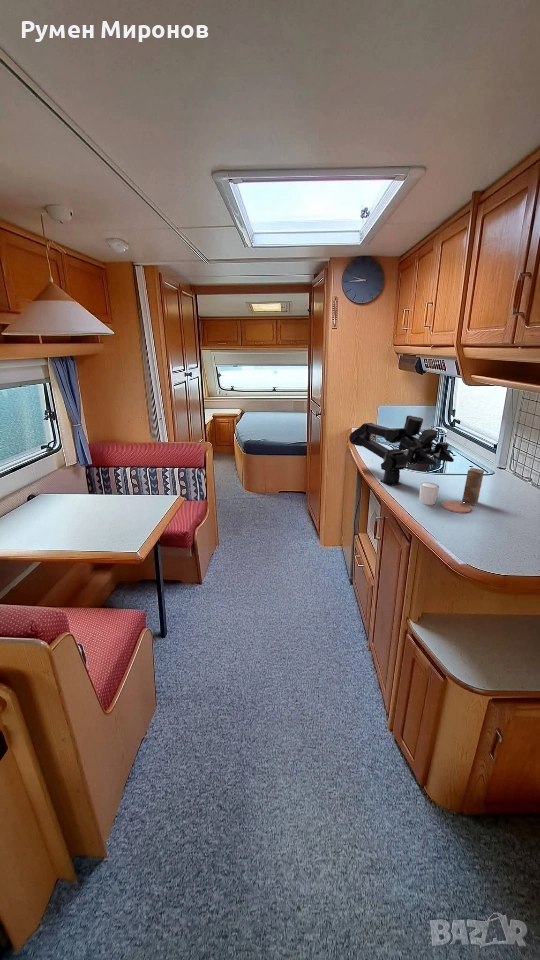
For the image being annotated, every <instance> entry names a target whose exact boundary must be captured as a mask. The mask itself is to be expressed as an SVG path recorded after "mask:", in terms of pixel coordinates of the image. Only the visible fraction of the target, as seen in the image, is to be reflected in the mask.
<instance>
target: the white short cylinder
mask: <svg viewBox="0 0 540 960" xmlns="http://www.w3.org/2000/svg"><path fill="white" fill-rule="evenodd" d="M439 491H440V485H438V484H436V483H434V482H428V481H427V482H425V481H424V482H421V483H419V496H418V497H419V499H418V502H419V503H420V504H422V505H425V504H426V506H433V504H434V505H435V504H436V500H437V497H438V495H439V494H438V493H439Z"/></svg>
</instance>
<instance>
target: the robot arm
mask: <svg viewBox="0 0 540 960" xmlns="http://www.w3.org/2000/svg"><path fill="white" fill-rule="evenodd" d="M423 422H424V419H423V418H422V417H420V416H419V417H418V416H414V415H406V418H405V423H404V427H403V428H402V427H399V428H398V427H397V428H395V427H393V428H392V427H391V428H390V427H387V426H382V425H378V424H375V423H373V422H367V423H366V422H365V423H363V424H362V425H361V426H359V427H357V428H356V429H355V430H353V432H351V433H350V434H349V437H348V440H349V442H350V444H351V445H354V446H357V447H358V446H359V447H363V448H365V449H366V450H368V451H369V452H371V453H372V454H375V456H378V457H379V458H381V459H382V460H383V462H382V463H381V464H380V467H381V470H383V471H384V475H383V479H380V482H382V483H383V484H385V485H387V486H399V485H402V482H401V481H400V476H401V475H400V472H401V470H404V469H405V467H406V466H407V464H410V465H411V464H413V465H415V464H416V465H431V466H436V465H437V461H436V460H438V461H443V462H448V463H449V462H450V463H453V462H454V460H455V459H454V458H453V456H451V454H450V453H449V452H448V448H449V443H447V442H438V443H436V444H435V446H434V448H433V449H432V447H433V445H434V443H433V441H434V440H435V439H436V438H437V436H438V435H439V433H438V431H437V430H435V429H434V428H428V429H424V430H423V431H422V432H421V430H422V427H423ZM420 432H421V434H420ZM419 434H420V435H419ZM372 435H374V436H378V437H382V438H384V439H385V441H387V442H389V443H390V444H397V443H399V444H398V448H392V449H389V448H387V447H385V446H384V445H382V444H381V443H379V442H377V441H375V440H373V439H372V438H371V436H372ZM416 435H419V436H418V437H416ZM406 450H407V454H406V453H405V452H404V451H406ZM433 458H434V459H436V460H434V459H433Z"/></svg>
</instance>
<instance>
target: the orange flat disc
mask: <svg viewBox="0 0 540 960" xmlns="http://www.w3.org/2000/svg"><path fill="white" fill-rule="evenodd" d="M441 507H442V508H443V507H444V508H443V509H445V510H446V509H447V511H449V510H450V511H449V512H452V511H454V512H453V513H457V512H460V513H459V514H467V513H466V512H468V513H470V512H471V511H472V505H470V504H466V503H463V502H462V501H458V500H444V501H442V503H441Z"/></svg>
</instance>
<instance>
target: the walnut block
mask: <svg viewBox="0 0 540 960" xmlns="http://www.w3.org/2000/svg"><path fill="white" fill-rule="evenodd" d="M484 472H485V469H480V468H475V467H470V468H469V469H468V470H467V475H466V477H465V478H466V479H465V484H464V489H463V495H462V501H461V502H465V503H469V504H468V505H470V504H472V505H471V506H474V505H475V504H476V505H477V504H478V502H479V497H480V493H481V488H482V483H483V479H484ZM476 505H475V506H476Z"/></svg>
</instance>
